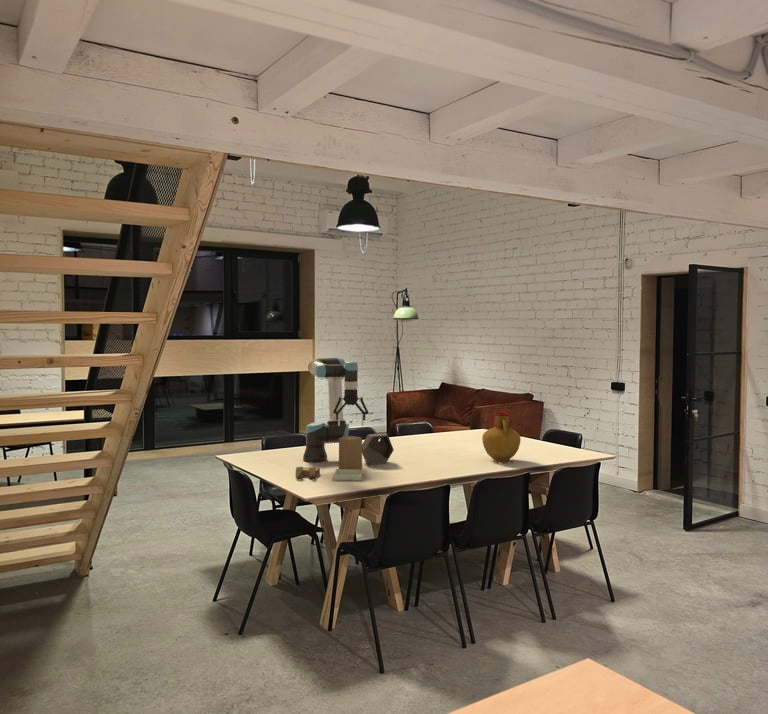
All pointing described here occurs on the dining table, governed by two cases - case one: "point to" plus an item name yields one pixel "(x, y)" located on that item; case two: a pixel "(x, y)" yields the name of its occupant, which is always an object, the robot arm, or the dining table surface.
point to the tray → (348, 474)
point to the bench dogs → (300, 472)
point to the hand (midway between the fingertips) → (350, 425)
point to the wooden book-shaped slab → (306, 472)
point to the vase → (501, 439)
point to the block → (350, 453)
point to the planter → (377, 449)
